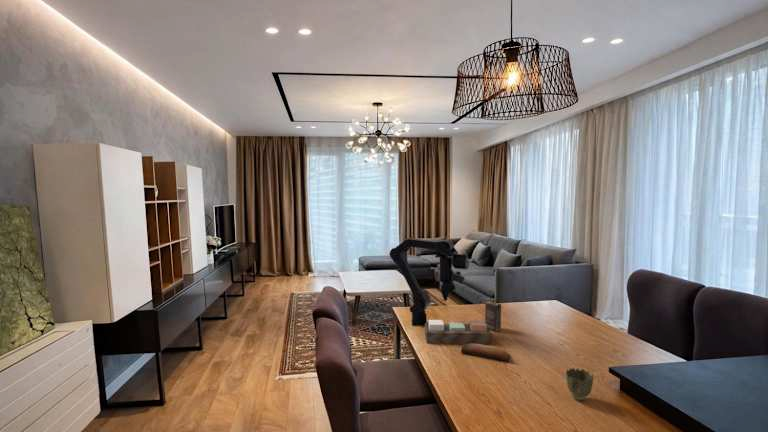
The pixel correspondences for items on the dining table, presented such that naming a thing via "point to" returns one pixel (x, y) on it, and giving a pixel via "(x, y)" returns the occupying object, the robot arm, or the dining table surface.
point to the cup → (579, 383)
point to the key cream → (436, 325)
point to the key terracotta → (478, 325)
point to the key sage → (456, 327)
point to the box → (493, 316)
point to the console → (457, 336)
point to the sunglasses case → (485, 351)
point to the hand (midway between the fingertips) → (445, 300)
